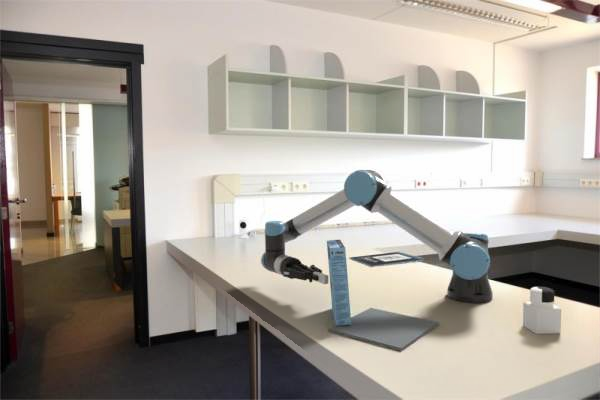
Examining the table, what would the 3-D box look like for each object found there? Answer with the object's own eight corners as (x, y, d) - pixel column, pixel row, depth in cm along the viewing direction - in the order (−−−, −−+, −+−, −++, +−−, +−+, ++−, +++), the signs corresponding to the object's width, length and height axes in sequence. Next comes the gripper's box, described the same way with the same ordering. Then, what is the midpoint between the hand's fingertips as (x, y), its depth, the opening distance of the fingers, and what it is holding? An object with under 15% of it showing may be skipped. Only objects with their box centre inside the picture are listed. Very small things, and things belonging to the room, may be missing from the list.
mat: (438, 324, 133) (438, 322, 133) (401, 351, 115) (401, 348, 115) (370, 310, 148) (370, 307, 148) (327, 331, 129) (327, 328, 129)
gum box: (351, 325, 131) (346, 246, 130) (333, 326, 131) (328, 248, 130) (346, 307, 150) (341, 239, 149) (330, 308, 150) (326, 240, 150)
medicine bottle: (546, 324, 132) (547, 284, 131) (561, 333, 125) (562, 291, 124) (522, 325, 132) (523, 285, 131) (535, 334, 125) (537, 291, 124)
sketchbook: (349, 260, 231) (349, 256, 231) (398, 254, 242) (398, 250, 242) (371, 268, 211) (371, 263, 211) (424, 262, 223) (424, 257, 222)
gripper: (303, 274, 168) (342, 288, 148) (273, 279, 161) (309, 294, 141) (303, 254, 168) (342, 265, 148) (272, 258, 161) (309, 271, 141)
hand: (326, 279), depth 145 cm, fingers closed
